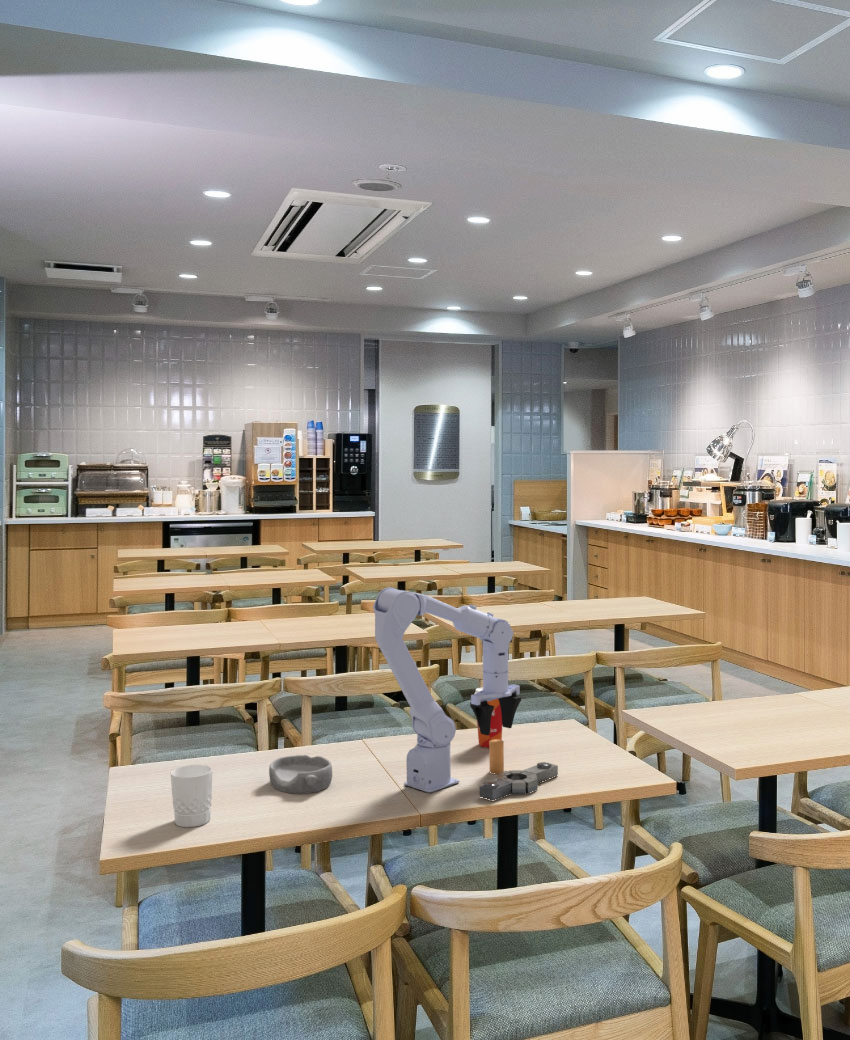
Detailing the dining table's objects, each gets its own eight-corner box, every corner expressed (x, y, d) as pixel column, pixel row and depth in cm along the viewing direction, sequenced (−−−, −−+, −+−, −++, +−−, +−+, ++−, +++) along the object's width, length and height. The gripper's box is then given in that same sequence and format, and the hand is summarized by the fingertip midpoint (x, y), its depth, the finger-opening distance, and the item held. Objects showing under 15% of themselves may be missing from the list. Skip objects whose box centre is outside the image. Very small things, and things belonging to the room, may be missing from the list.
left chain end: (501, 804, 185) (501, 790, 185) (470, 794, 191) (470, 781, 190) (544, 787, 195) (544, 774, 195) (514, 778, 201) (514, 766, 200)
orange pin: (497, 775, 203) (497, 744, 203) (486, 772, 205) (486, 741, 205) (506, 772, 205) (506, 741, 205) (496, 769, 208) (495, 738, 207)
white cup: (218, 813, 182) (216, 764, 181) (207, 828, 174) (205, 777, 173) (179, 813, 182) (177, 764, 182) (166, 828, 174) (165, 777, 174)
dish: (321, 798, 191) (321, 774, 190) (259, 794, 193) (258, 771, 193) (341, 776, 205) (341, 754, 205) (283, 772, 208) (282, 751, 207)
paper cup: (468, 744, 227) (467, 689, 226) (489, 738, 232) (489, 684, 231) (491, 751, 221) (490, 694, 220) (512, 745, 226) (511, 689, 226)
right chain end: (519, 797, 189) (519, 783, 189) (489, 788, 195) (489, 775, 195) (566, 778, 200) (566, 765, 200) (536, 770, 206) (536, 758, 206)
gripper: (487, 678, 196) (488, 741, 197) (529, 668, 207) (530, 727, 207) (463, 674, 201) (464, 734, 202) (506, 664, 212) (506, 722, 212)
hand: (496, 730), depth 205 cm, fingers open, 7 cm apart
